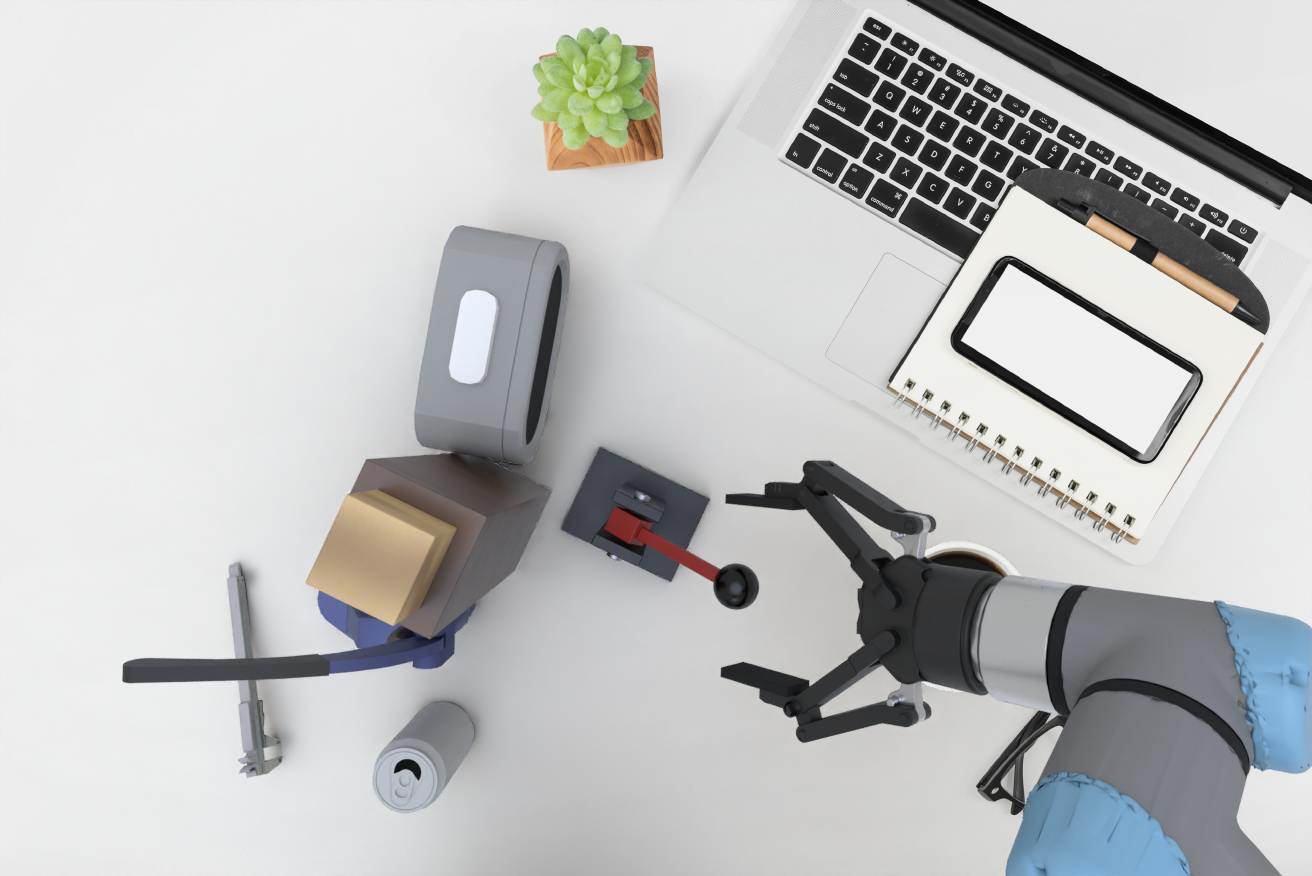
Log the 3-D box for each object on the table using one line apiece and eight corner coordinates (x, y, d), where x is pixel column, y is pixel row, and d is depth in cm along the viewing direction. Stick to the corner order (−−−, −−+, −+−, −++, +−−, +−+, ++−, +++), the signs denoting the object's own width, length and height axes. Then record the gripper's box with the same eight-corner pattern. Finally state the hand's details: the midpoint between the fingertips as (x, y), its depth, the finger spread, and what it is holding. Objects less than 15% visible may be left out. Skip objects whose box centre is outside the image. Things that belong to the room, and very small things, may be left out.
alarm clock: (540, 464, 83) (512, 469, 69) (447, 446, 83) (402, 448, 69) (576, 261, 82) (556, 226, 69) (483, 244, 83) (445, 207, 69)
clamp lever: (773, 577, 66) (757, 574, 62) (753, 618, 66) (737, 618, 63) (634, 503, 73) (614, 497, 69) (617, 540, 73) (596, 536, 69)
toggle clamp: (709, 498, 82) (715, 510, 68) (670, 580, 82) (669, 608, 68) (600, 446, 82) (585, 448, 69) (562, 528, 83) (538, 546, 69)
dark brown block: (514, 571, 83) (430, 639, 55) (433, 532, 83) (308, 581, 55) (552, 490, 83) (488, 517, 55) (471, 451, 83) (366, 458, 55)
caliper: (285, 760, 83) (253, 786, 77) (274, 762, 83) (242, 788, 77) (241, 562, 83) (205, 572, 77) (230, 564, 83) (194, 575, 77)
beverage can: (483, 709, 83) (450, 755, 71) (466, 770, 83) (430, 827, 71) (422, 691, 83) (379, 734, 71) (405, 753, 83) (359, 806, 71)
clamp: (491, 557, 83) (396, 619, 55) (489, 645, 83) (392, 751, 55) (305, 551, 83) (117, 608, 55) (303, 637, 83) (113, 739, 55)
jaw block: (419, 609, 55) (393, 626, 50) (338, 570, 55) (304, 583, 50) (457, 527, 55) (435, 536, 50) (376, 488, 55) (346, 493, 50)
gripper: (1018, 821, 53) (760, 729, 68) (1029, 431, 53) (768, 428, 68) (963, 860, 48) (697, 751, 63) (975, 428, 48) (706, 425, 63)
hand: (733, 583), depth 66 cm, fingers open, 13 cm apart
